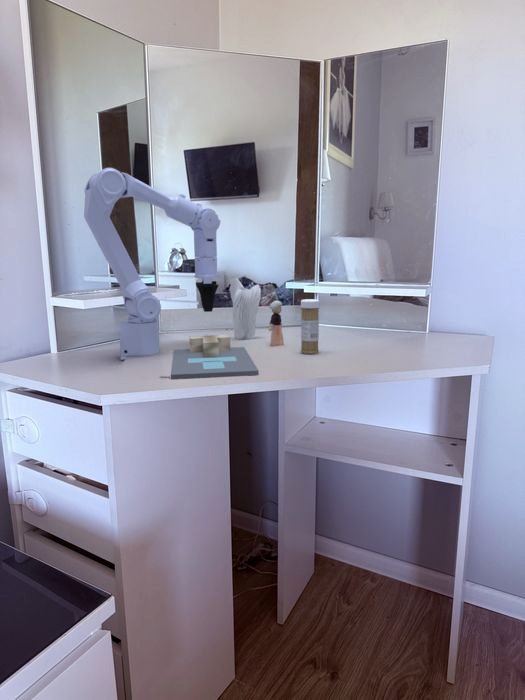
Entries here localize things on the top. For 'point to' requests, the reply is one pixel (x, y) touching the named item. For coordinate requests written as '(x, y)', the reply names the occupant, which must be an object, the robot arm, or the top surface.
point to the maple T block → (209, 344)
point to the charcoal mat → (212, 364)
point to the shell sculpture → (244, 309)
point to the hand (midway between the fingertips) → (207, 309)
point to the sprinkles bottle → (309, 326)
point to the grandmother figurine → (276, 324)
